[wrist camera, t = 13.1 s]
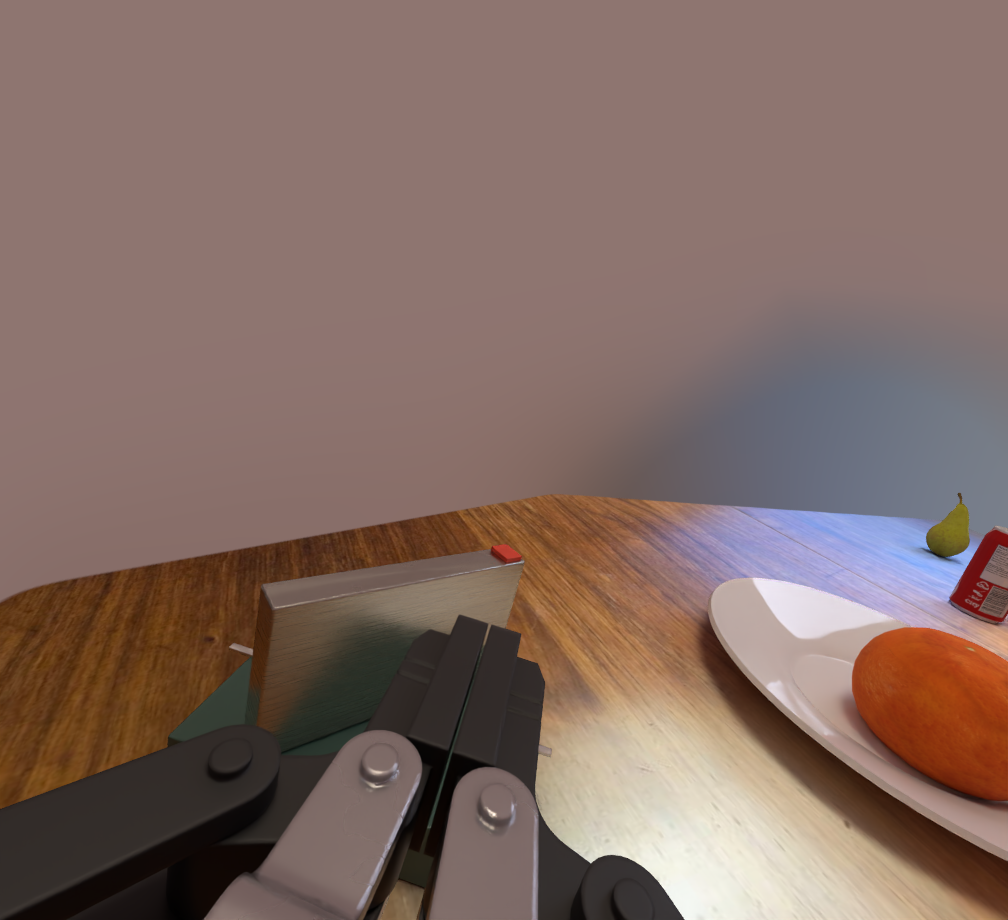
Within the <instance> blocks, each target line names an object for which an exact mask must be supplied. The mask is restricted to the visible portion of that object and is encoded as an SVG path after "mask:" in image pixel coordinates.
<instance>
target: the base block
mask: <svg viewBox="0 0 1008 920" xmlns="http://www.w3.org/2000/svg"><path fill="white" fill-rule="evenodd" d="M229 650H230V651H233V652H236V653H239V654H242V655H245V656H248V657H250V658H249V659H248V660H247V661H246V662H244V663H243V664H242V665H241V666H240V667H239V668H238V669H237V670H236V671H235V672H234V673H233V674H232V675H231V676H230V677H229V678H228V679H227V680H226V681H225V682H224V683H223V684H222V685H221V686H220V687H219V688H217V689H216V690H215V691H214V692H213V693H212V694H211V695H210V696H209V697H208V698H207V699H206V700H205V701H204V702H203V703H202V704H201V705H200V706H199V707H198V708H197V709H196V710H195V711H194V712H193V713H191V714H190V715H189V716H188V717H187V718H186V719H185V720H184V721H183V722H182V723H181V724H180V725H179V726H178V727H177V728H176V729H175V730H174V731H173V732H172V733H171V734H170V735H169V736H168V746H167V747H170V746H173V745H175V744H178V743H181V742H183V741H186V740H189V739H192V738H194V737H197V736H200V735H202V734H205V733H208V732H211V731H213V730H216V729H219V728H222V727H225V726H230V725H238V724H244V721H245V713H246V705H247V697H248V689H249V680H250V672H251V664H252V656H253V649H250V648H247V647H244V646H241V645H238V644H235V643H233V644H232V645H231V646H230V647H229ZM473 683H474V680H473V681H472V684H471V687H470V691H469V694H468V697H467V701H466V704H465V707H464V711H463V714H462V717H461V720H460V723H459V727H458V730H457V733H456V736H455V740H454V743H453V746H452V749H451V752H450V756H449V759H448V762H447V765H446V769H445V772H444V775H443V778H442V782H441V785H440V788H439V791H438V794H437V798H436V801H435V804H434V807H433V811H432V814H431V817H430V820H429V823H428V827H427V830H426V833H425V836H424V840H423V843H422V846H421V849H420V853H418V852H416V851H413V850H410V849H408V851H407V854H406V857H405V859H404V862H403V865H402V868H401V871H400V874H399V877H398V878H400V879H403V880H405V881H408V882H411V883H414V884H416V885H419V886H422V887H424V888H426V884H427V880H428V877H429V873H430V870H431V866H432V862H433V859H434V858H433V857H430V856H428V855H425V854H423V853H424V849H425V846H426V842H427V839H428V835H429V832H430V828H431V825H432V821H433V818H434V814H435V811H436V807H437V804H438V800H439V797H440V793H441V790H442V786H443V783H444V779H445V776H446V772H447V769H448V765H449V762H450V758H451V755H452V751H453V748H454V745H455V742H456V738H457V735H458V732H459V729H460V725H461V722H462V719H463V715H464V712H465V709H466V706H467V702H468V699H469V696H470V693H471V689H472V686H473ZM369 721H370V719H369V720H366V721H364V722H361V723H358V724H356V725H353V726H350V727H348V728H345V729H342V730H340V731H337V732H334V733H332V734H329V735H326V736H324V737H321V738H318V739H316V740H313V741H310V742H308V743H305V744H302V745H300V746H297V747H294V748H292V749H289V750H286V751H284V752H281V755H310V756H311V755H323V754H329V753H332V752H336V751H338V750H340V749H341V748H342V747H343V746H344V745H345V744H346V743H347V742H348V741H349V740H350V739H352V738H353V737H355V736H357V735H359V734H361V733H363V731H364V730H365V728H366V727H367V725H368V723H369ZM538 753H539V754H542V755H544V756H547V757H551V753H552V749H551V748H548V747H545V746H542V745H539V750H538Z"/></svg>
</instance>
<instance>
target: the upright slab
mask: <svg viewBox="0 0 1008 920" xmlns="http://www.w3.org/2000/svg"><path fill="white" fill-rule="evenodd" d="M521 558H522V556H521V555H519V554H518V553H517V552H516V551H514V550H513V549H512V548H511V547H509V546H508V545H507V544H504V545H497V546H492V548H491V549H489V550H483V551H476V552H470V553H463V554H457V555H450V556H444V557H437V558H431V559H424V560H418V561H411V562H405V563H398V564H392V565H385V566H379V567H372V568H366V569H359V570H353V571H346V572H340V573H333V574H327V575H320V576H314V577H307V578H301V579H294V580H288V581H281V582H275V583H268V584H263V585H262V586H261V591H260V599H259V607H258V615H257V623H256V631H255V640H254V648H253V656H252V664H251V672H250V680H249V689H248V697H247V705H246V713H245V721H244V724H247V725H254V726H259V727H261V728H263V729H266V730H267V731H269V732H270V733H271V734H272V735H273V736H274V737H275V738H276V739H277V741H278V742H279V745H280V748H281V752H284V751H286V750H289V749H292V748H294V747H297V746H300V745H302V744H305V743H308V742H310V741H313V740H316V739H318V738H321V737H324V736H326V735H329V734H332V733H334V732H337V731H340V730H342V729H345V728H348V727H350V726H353V725H356V724H358V723H361V722H364V721H366V720H369V719H371V718H372V716H373V714H374V712H375V710H376V709H377V707H378V705H379V703H380V701H381V699H382V698H383V696H384V694H385V692H386V690H387V688H388V687H389V685H390V683H391V681H392V679H393V677H394V676H395V674H396V673H397V670H398V668H399V666H400V665H401V663H402V661H403V660H404V658H405V655H406V654H407V652H408V650H409V648H410V646H411V644H412V643H413V641H414V640H415V639H416V638H418V637H419V636H420V635H422V634H423V633H425V632H426V631H428V630H429V629H432V630H435V631H438V632H441V633H445V634H448V635H450V633H451V631H452V629H453V626H454V624H455V622H456V620H457V617H458V615H459V614H461V615H464V616H467V617H470V618H473V619H476V620H479V621H483V622H486V623H489V624H488V628H487V632H486V635H485V639H484V642H483V646H482V649H481V653H480V656H479V660H478V663H477V667H476V670H475V674H474V677H473V680H474V679H475V676H476V673H477V670H478V666H479V663H480V660H481V657H482V653H483V650H484V647H485V643H486V640H487V637H488V634H489V630H490V627H491V624H492V625H496V626H499V627H502V628H506V625H507V622H508V618H509V615H510V611H511V608H512V604H513V601H514V597H515V594H516V591H517V587H518V584H519V580H520V577H521V573H522V570H523V566H524V561H523V560H522V559H521Z"/></svg>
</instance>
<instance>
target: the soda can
mask: <svg viewBox="0 0 1008 920" xmlns="http://www.w3.org/2000/svg"><path fill="white" fill-rule="evenodd" d="M949 598H950V600H951V603H952V604H953V605H954V606H955V607H956V608H958V609H960V610H961V611H963V612H965V613H967V614H969V615H971V616H973V617H976V618H978V619H981V620H984V621H987V622H990V623H997V622H1003V621H1004V619H1005V618H1006V616H1007V614H1008V528H1004V527H1000V526H994V528H993V529H992V530H991V531H990V532H988V533H987V534H986V535H985V537H984V539H983V540H982V542H981V544H980V546H979V547H978V549H977V551H976V552H975V554H974V556H973V558H972V559H971V561H970V563H969V565H968V566H967V568H966V570H965V571H964V573H963V575H962V577H961V578H960V580H959V582H958V584H957V585H956V587H955V589H954V591H953V592H952V594H951V596H950V597H949Z"/></svg>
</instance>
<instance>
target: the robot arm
mask: <svg viewBox="0 0 1008 920" xmlns="http://www.w3.org/2000/svg"><path fill="white" fill-rule="evenodd" d="M488 624H489V623H486V622H483V621H479V620H476V619H473V618H470V617H467V616H464V615H461V614H459V615H458V617H457V620H456V622H455V624H454V626H453V629H452V631H451V633H450V635H448V634H445V633H441V632H438V631H435V630H432V629H429V630H428V631H426V632H425V633H423V634H422V635H420V636H419V637H418V638H416V639H415V640H414V641H413V643H412V644H411V646H410V648H409V650H408V652H407V654H406V655H405V658H404V660H403V661H402V663H401V665H400V666H399V668H398V670H397V673H396V674H395V676H394V677H393V679H392V681H391V683H390V685H389V687H388V688H387V690H386V692H385V694H384V696H383V698H382V699H381V701H380V703H379V705H378V707H377V709H376V710H375V712H374V714H373V716H372V718H371V719H370V721H369V723H368V725H367V727H366V728H365V730H364V731H363V733H361V734H359V735H357V736H355V737H353V738H352V739H350V740H349V741H348V742H347V743H346V744H345V745H344V746H343V747H342V748H341V749H340V750H338V751H336V752H332V753H329V754H323V755H311V756H310V755H281V748H280V745H279V742H278V741H277V739H276V738H275V737H274V736H273V735H272V734H271V733H270V732H269V731H267V730H266V729H263V728H261V727H259V726H254V725H247V724H238V725H230V726H225V727H222V728H219V729H216V730H213V731H211V732H208V733H205V734H202V735H200V736H197V737H194V738H192V739H189V740H186V741H183V742H181V743H178V744H175V745H173V746H170V747H167V748H165V749H162V750H159V751H156V752H154V753H151V754H148V755H146V756H143V757H140V758H137V759H135V760H132V761H129V762H127V763H124V764H121V765H119V766H116V767H113V768H110V769H108V770H105V771H102V772H100V773H97V774H94V775H92V776H89V777H86V778H83V779H81V780H78V781H75V782H73V783H70V784H67V785H64V786H62V787H59V788H56V789H54V790H51V791H48V792H46V793H43V794H40V795H37V796H35V797H32V798H29V799H27V800H24V801H21V802H18V803H16V804H13V805H10V806H8V807H5V808H2V809H0V920H380V919H381V917H382V914H383V912H384V909H385V907H386V904H387V902H388V899H389V896H390V893H391V892H392V890H393V888H394V887H395V885H396V882H397V880H398V877H399V874H400V871H401V868H402V865H403V862H404V859H405V857H406V854H407V851H408V849H410V850H413V851H416V852H418V853H420V849H421V846H422V843H423V840H424V836H425V833H426V830H427V827H428V823H429V820H430V817H431V814H432V811H433V807H434V804H435V801H436V798H437V794H438V791H439V788H440V785H441V782H442V778H443V775H444V772H445V769H446V765H447V762H448V759H449V756H450V752H451V749H452V746H453V743H454V740H455V736H456V733H457V730H458V727H459V723H460V720H461V717H462V714H463V711H464V707H465V704H466V701H467V697H468V694H469V691H470V687H471V684H472V681H473V677H474V674H475V670H476V667H477V663H478V660H479V656H480V653H481V649H482V646H483V642H484V639H485V635H486V632H487V628H488ZM520 638H521V633H517V632H514V631H511V630H508V629H505V628H502V627H499V626H496V625H492V624H491V627H490V630H489V634H488V637H487V640H486V643H485V647H484V650H483V653H482V657H481V660H480V663H479V666H478V670H477V673H476V676H475V679H474V683H473V686H472V689H471V693H470V696H469V699H468V702H467V706H466V709H465V712H464V715H463V719H462V722H461V725H460V729H459V732H458V735H457V738H456V742H455V745H454V748H453V751H452V755H451V758H450V762H449V765H448V769H447V772H446V776H445V779H444V783H443V786H442V790H441V793H440V797H439V800H438V804H437V807H436V811H435V814H434V818H433V821H432V825H431V828H430V832H429V835H428V839H427V842H426V846H425V849H424V853H423V854H425V855H428V856H430V857H433V858H434V859H433V862H432V866H431V870H430V873H429V877H428V880H427V884H426V888H425V891H424V895H423V898H422V902H421V905H420V908H419V912H418V915H417V920H684V918H683V917H682V915H681V914H680V912H679V911H678V909H677V908H676V906H675V905H674V903H673V902H672V900H671V899H670V898H669V896H668V895H667V893H666V892H665V890H664V889H663V888H662V886H661V885H660V884H659V882H658V881H657V880H656V879H655V878H654V877H653V876H652V875H651V874H650V873H649V872H648V871H647V870H646V869H645V868H643V867H642V866H641V865H639V864H637V863H636V862H634V861H632V860H630V859H628V858H625V857H622V856H616V855H607V856H603V857H600V858H598V859H596V860H595V861H593V862H592V863H589V862H588V861H587V860H585V859H584V858H583V857H581V856H580V855H579V854H577V853H576V852H575V851H573V850H572V849H570V848H569V847H568V846H566V845H565V844H564V843H563V842H562V841H560V840H559V839H558V838H557V837H556V836H555V835H554V833H553V832H552V831H551V830H550V829H549V827H548V826H547V824H546V823H545V821H544V819H543V818H542V816H541V813H540V811H539V809H538V806H537V802H536V797H535V780H536V770H537V760H538V750H539V740H540V729H541V718H542V709H543V706H542V705H543V699H544V689H545V681H544V679H543V676H542V673H541V671H540V668H539V666H538V663H534V662H531V661H528V660H525V659H522V658H519V657H517V654H518V648H519V643H520Z"/></svg>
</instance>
